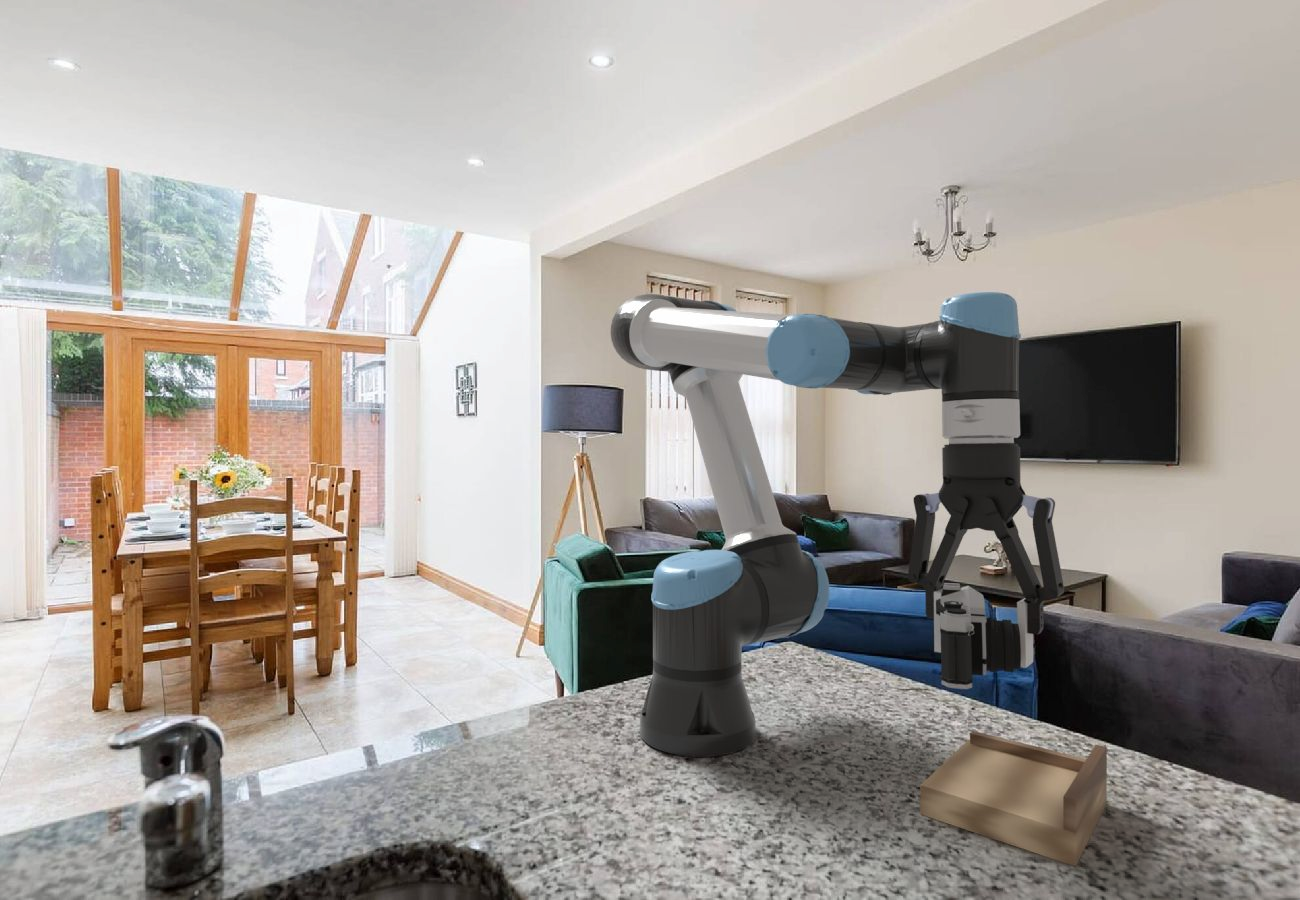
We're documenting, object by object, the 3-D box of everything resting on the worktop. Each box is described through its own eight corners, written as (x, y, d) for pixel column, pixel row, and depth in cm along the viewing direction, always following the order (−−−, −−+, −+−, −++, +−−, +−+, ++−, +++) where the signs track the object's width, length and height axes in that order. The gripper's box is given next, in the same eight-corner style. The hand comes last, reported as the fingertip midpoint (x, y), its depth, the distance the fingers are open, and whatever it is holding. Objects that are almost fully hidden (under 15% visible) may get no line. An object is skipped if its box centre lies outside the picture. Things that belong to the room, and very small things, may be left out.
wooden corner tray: (920, 814, 74) (920, 755, 74) (968, 765, 85) (968, 714, 85) (1075, 866, 65) (1075, 800, 65) (1106, 803, 76) (1106, 746, 76)
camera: (1031, 698, 65) (1030, 596, 65) (937, 687, 67) (937, 590, 68) (1011, 667, 77) (1011, 581, 77) (933, 659, 79) (933, 577, 80)
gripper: (872, 442, 81) (874, 646, 81) (1083, 440, 67) (1085, 686, 67) (900, 442, 86) (902, 633, 86) (1100, 440, 72) (1102, 667, 72)
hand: (982, 656), depth 77 cm, fingers closed on camera, 8 cm apart
